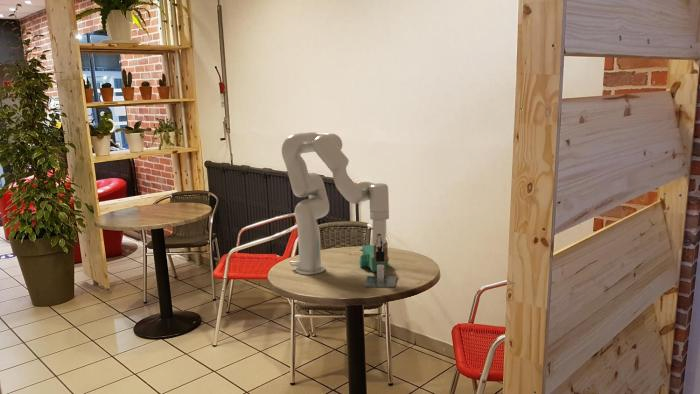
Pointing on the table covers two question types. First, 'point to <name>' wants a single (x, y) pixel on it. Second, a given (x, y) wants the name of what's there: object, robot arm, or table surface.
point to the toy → (370, 258)
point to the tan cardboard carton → (385, 249)
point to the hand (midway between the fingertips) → (380, 258)
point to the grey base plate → (380, 279)
